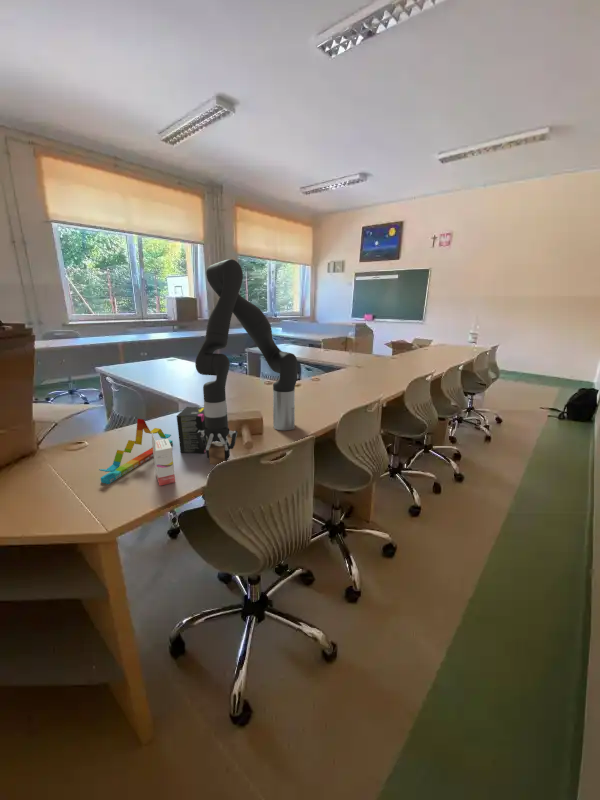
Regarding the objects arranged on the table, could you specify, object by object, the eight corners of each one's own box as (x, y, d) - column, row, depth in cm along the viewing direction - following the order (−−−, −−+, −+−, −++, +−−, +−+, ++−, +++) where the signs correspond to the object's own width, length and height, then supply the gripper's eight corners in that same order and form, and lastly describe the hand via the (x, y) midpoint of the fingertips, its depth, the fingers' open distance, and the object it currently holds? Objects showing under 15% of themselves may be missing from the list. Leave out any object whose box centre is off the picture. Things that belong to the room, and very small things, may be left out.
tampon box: (204, 453, 124) (201, 416, 120) (179, 453, 124) (175, 415, 120) (212, 441, 135) (210, 406, 130) (189, 441, 135) (186, 405, 130)
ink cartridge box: (176, 482, 105) (171, 438, 101) (159, 486, 103) (153, 441, 98) (171, 470, 112) (166, 429, 108) (155, 474, 110) (150, 431, 105)
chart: (109, 484, 104) (101, 439, 99) (101, 483, 105) (93, 438, 100) (173, 445, 131) (169, 408, 127) (166, 444, 132) (162, 407, 128)
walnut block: (227, 458, 121) (226, 442, 119) (224, 464, 116) (223, 448, 115) (213, 457, 121) (212, 441, 119) (209, 464, 116) (208, 447, 115)
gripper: (239, 409, 117) (241, 454, 122) (197, 408, 117) (201, 453, 122) (235, 417, 110) (237, 464, 115) (190, 416, 110) (194, 463, 115)
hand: (218, 458), depth 118 cm, fingers closed on walnut block, 5 cm apart
